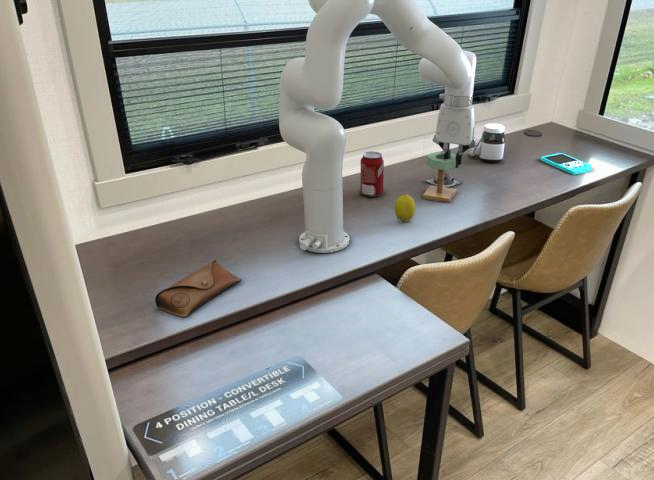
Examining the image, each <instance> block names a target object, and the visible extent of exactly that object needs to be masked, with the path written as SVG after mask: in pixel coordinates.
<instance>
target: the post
mask: <svg viewBox="0 0 654 480" xmlns="http://www.w3.org/2000/svg"><path fill="white" fill-rule="evenodd" d="M437 171H438V172H437V174H438V181H437V186H435V185H433V184H430V185H429V187H428V188H427V189H426V190H425V191H424V193H423V194H422V199H424V200H431V201H437V202H443V203H450V202H451V200H452V199H453V198H454V196H456V195H455V194H456V193H457V189H456V188H452V187H446V188H445V187H443V183H444V173H445V171H446V170H440V169H437Z"/></svg>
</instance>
